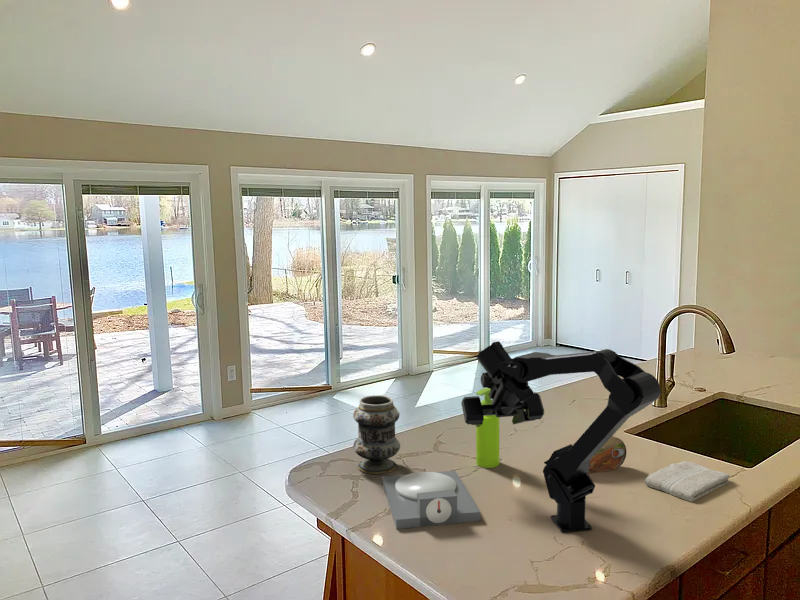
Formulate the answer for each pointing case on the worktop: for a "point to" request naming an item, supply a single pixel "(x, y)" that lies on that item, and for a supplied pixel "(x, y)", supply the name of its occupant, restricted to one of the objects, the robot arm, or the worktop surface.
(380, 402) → the apothecary jar
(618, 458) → the tin
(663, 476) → the washcloth
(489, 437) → the soap dispenser
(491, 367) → the robot arm
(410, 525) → the kitchen scale
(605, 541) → the worktop surface
